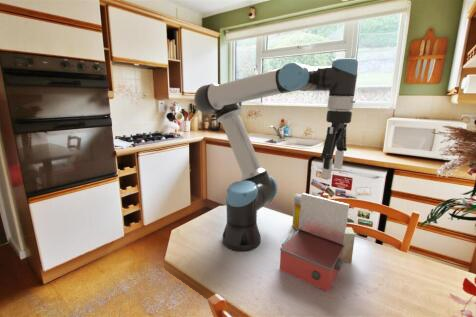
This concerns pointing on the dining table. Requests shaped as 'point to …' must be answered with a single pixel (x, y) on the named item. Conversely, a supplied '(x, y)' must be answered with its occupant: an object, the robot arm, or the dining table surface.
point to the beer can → (297, 209)
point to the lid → (323, 218)
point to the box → (348, 245)
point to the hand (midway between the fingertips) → (332, 172)
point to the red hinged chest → (311, 259)
